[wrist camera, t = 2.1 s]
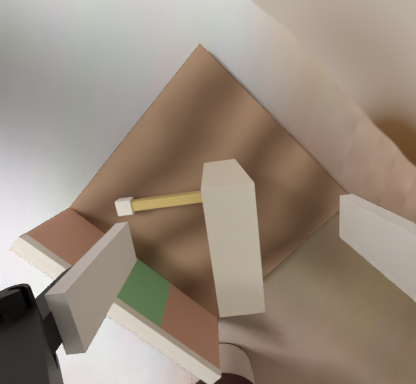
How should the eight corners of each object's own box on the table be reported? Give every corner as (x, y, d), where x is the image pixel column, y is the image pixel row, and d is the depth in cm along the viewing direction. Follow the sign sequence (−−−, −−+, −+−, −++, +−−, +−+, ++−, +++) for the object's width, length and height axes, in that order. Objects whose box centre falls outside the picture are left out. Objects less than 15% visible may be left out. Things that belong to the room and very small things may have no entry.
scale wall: (62, 216, 24) (9, 249, 17) (70, 206, 23) (19, 236, 17) (209, 325, 27) (210, 385, 21) (218, 318, 27) (221, 377, 21)
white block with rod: (230, 153, 22) (254, 182, 10) (237, 222, 24) (265, 312, 12) (113, 169, 22) (13, 214, 11) (130, 235, 24) (59, 335, 13)
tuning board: (67, 214, 25) (60, 218, 24) (200, 48, 21) (199, 43, 20) (208, 319, 29) (208, 327, 27) (345, 195, 24) (352, 198, 23)
